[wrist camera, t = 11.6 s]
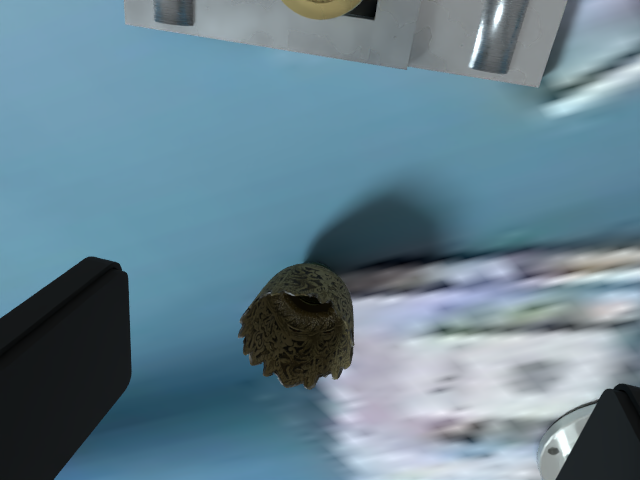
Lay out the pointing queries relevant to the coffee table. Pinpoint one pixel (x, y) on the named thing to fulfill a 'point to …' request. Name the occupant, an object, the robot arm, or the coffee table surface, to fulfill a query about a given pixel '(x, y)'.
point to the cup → (300, 326)
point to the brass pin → (321, 8)
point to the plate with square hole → (381, 32)
